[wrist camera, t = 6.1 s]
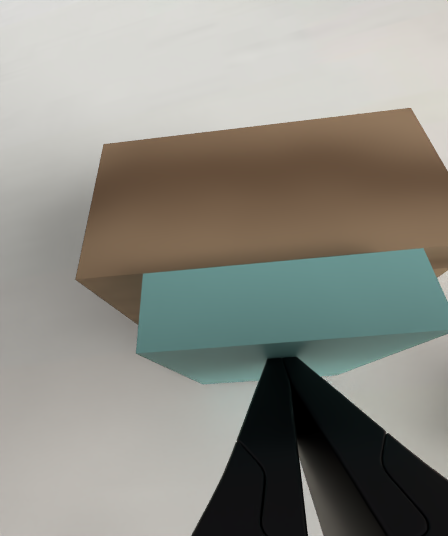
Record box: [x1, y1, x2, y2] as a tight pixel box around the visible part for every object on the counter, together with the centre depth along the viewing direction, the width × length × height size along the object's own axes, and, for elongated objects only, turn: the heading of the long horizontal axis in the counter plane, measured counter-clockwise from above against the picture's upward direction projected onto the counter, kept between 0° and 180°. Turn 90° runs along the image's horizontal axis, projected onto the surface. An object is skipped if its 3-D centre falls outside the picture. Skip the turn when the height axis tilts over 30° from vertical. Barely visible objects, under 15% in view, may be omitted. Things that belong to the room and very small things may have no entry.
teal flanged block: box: [136, 248, 448, 384], centre depth 12 cm, size 9×7×10 cm
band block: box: [75, 108, 448, 325], centre depth 13 cm, size 6×12×9 cm, turn 93°
